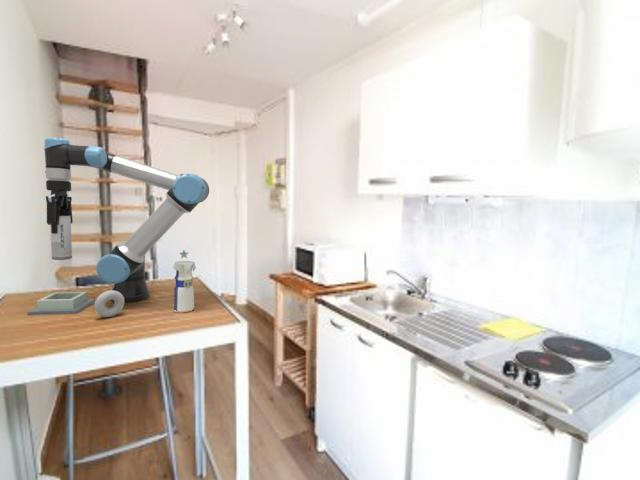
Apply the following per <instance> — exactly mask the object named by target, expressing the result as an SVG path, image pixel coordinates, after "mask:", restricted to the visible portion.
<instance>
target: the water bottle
mask: <svg viewBox="0 0 640 480" xmlns="http://www.w3.org/2000/svg"><path fill="white" fill-rule="evenodd" d="M179 254H180V255H181V259H183V258H188V257H187V255H189V252H186V250H185V249H183V250H182V252H179ZM172 269H173V270H175V271H176V273H175V276H174V280H175V286H174V295H173V301H174V302H173V311H174V310H176V311H186V310H190V309H192V308H194V309H195V298H194V295H195V294H194V293H195V292H194V286H193V279H194V276H193V273H192V272H194V271H195V270H196V264H195V261H191V260H189V261H188V260H181V261H175V262H174V263H173V265H172Z"/></svg>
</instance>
